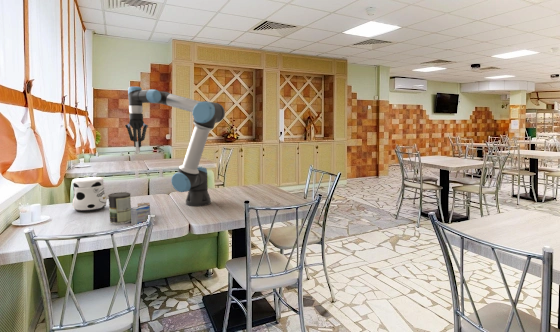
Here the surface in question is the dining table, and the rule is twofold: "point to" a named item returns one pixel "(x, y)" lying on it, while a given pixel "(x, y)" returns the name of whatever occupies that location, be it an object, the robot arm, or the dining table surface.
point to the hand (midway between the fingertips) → (138, 152)
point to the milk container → (89, 194)
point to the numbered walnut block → (143, 204)
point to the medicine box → (139, 214)
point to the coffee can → (120, 207)
